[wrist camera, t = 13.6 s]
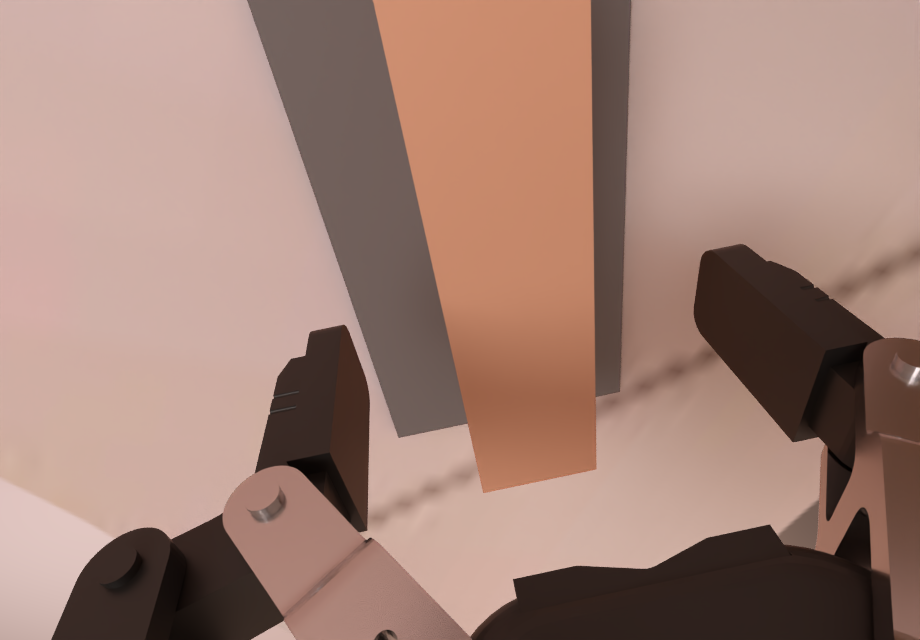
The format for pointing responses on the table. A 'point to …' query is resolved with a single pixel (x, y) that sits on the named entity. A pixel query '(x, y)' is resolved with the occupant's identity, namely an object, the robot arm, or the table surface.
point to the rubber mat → (395, 201)
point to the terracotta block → (506, 216)
